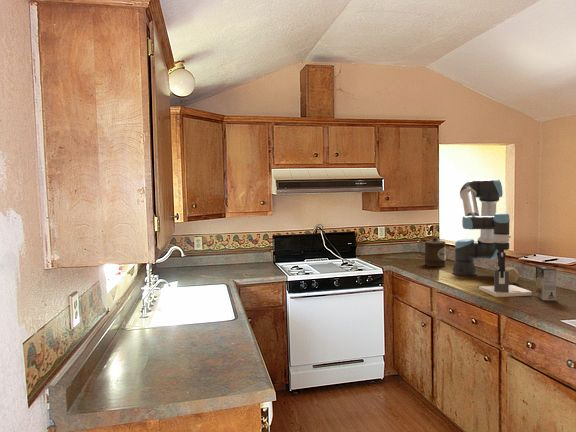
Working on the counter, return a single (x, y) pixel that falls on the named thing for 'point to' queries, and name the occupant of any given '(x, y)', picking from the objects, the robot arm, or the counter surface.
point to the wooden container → (435, 253)
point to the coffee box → (546, 282)
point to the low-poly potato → (512, 275)
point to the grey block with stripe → (501, 287)
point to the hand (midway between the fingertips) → (501, 281)
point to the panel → (512, 292)
